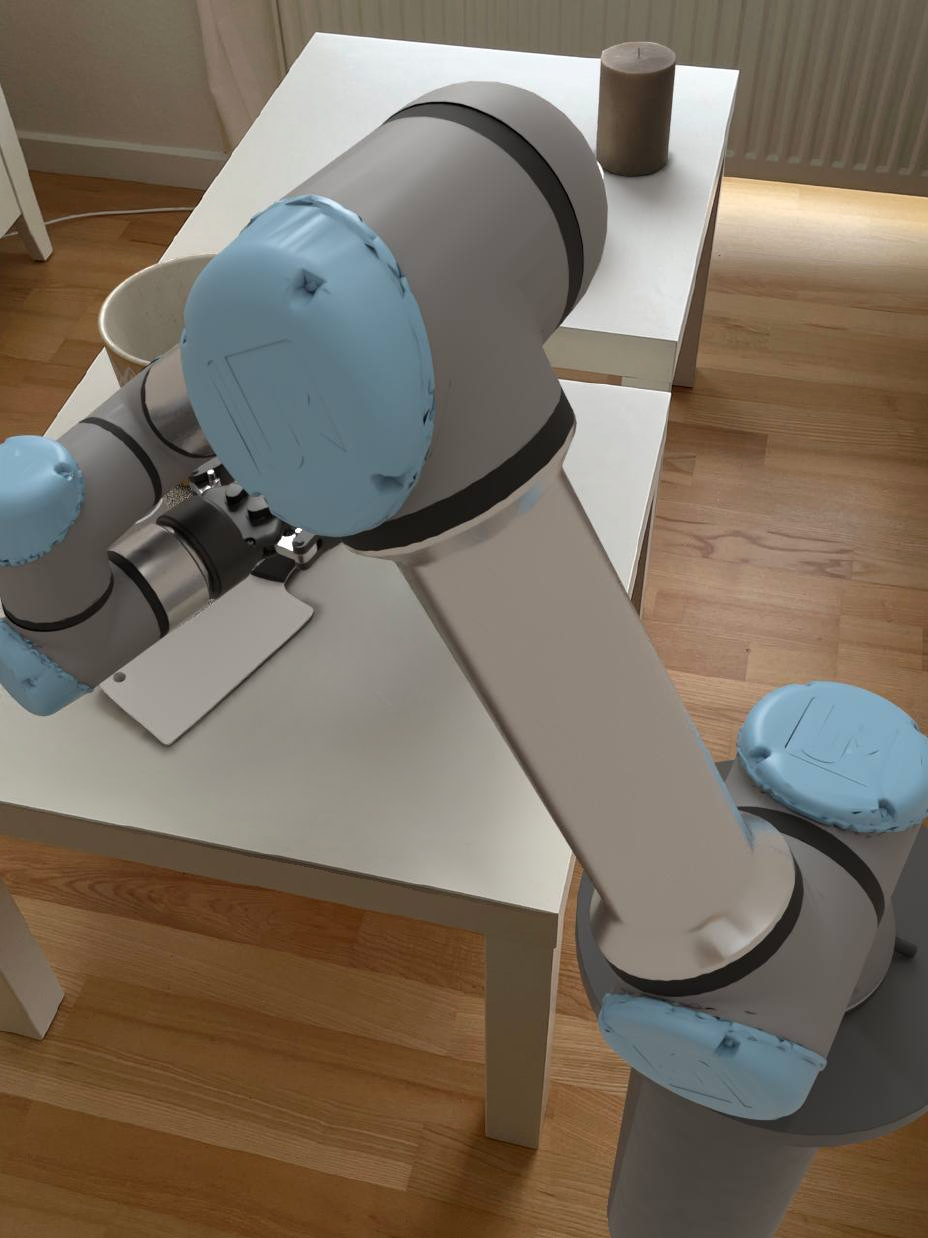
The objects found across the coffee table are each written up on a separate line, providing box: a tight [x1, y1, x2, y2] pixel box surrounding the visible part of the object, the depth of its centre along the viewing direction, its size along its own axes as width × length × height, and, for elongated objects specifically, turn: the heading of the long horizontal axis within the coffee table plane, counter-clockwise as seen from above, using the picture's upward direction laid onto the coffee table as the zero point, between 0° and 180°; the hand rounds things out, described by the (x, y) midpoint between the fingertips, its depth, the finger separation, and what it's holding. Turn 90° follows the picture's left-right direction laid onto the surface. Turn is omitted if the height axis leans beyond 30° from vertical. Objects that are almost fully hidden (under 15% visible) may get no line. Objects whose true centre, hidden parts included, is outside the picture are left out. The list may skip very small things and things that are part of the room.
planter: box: [97, 252, 235, 487], centre depth 125 cm, size 19×19×16 cm
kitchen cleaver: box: [97, 554, 314, 746], centre depth 114 cm, size 31×2×10 cm
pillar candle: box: [595, 41, 677, 177], centre depth 163 cm, size 10×10×15 cm
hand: (396, 414), depth 104 cm, fingers closed on food, 7 cm apart
